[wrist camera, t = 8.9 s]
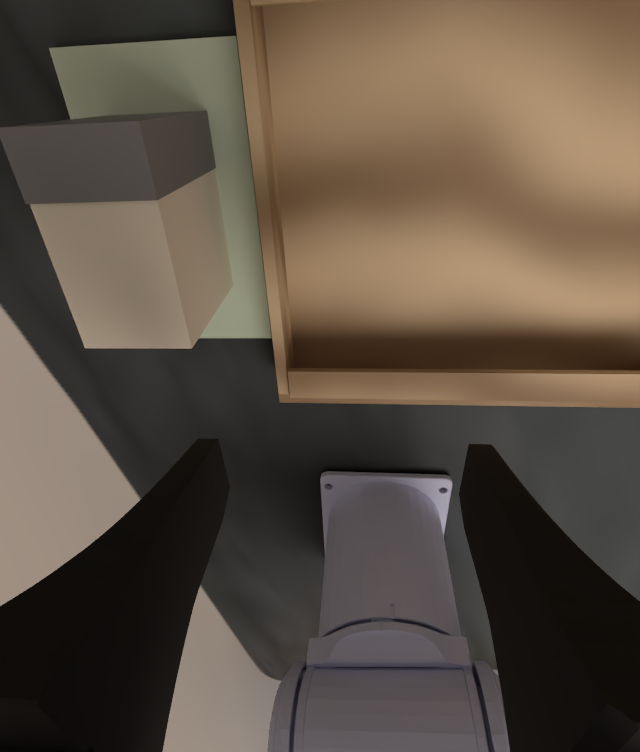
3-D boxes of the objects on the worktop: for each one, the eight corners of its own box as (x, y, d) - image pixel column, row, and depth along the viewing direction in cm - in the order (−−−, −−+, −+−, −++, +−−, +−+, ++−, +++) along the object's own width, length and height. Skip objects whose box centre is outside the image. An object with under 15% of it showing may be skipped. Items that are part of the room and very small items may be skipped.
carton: (641, 376, 22) (675, 412, 20) (287, 373, 24) (278, 406, 21) (848, -111, 13) (960, -157, 10) (243, -59, 15) (220, -88, 12)
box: (234, 284, 21) (192, 349, 16) (150, 285, 21) (82, 349, 16) (207, 110, 17) (138, 121, 12) (105, 115, 17) (-4, 127, 12)
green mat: (273, 332, 23) (271, 338, 22) (142, 332, 23) (137, 338, 23) (239, 37, 16) (235, 35, 15) (58, 49, 17) (48, 48, 16)
